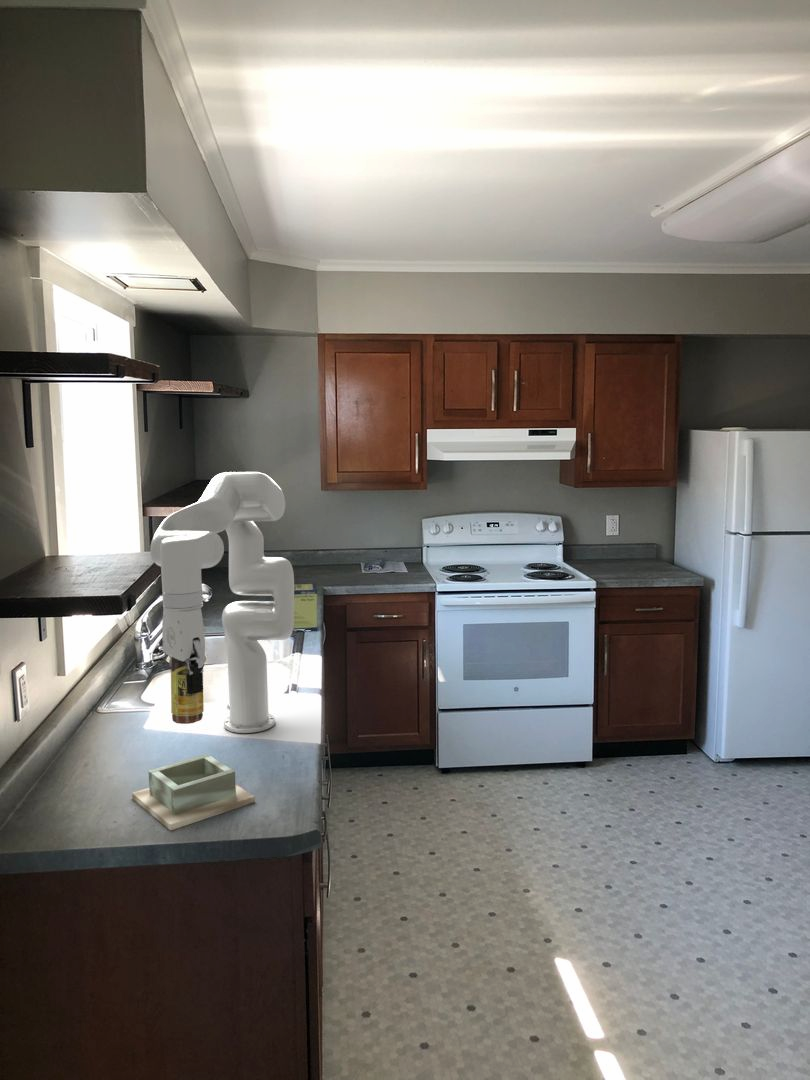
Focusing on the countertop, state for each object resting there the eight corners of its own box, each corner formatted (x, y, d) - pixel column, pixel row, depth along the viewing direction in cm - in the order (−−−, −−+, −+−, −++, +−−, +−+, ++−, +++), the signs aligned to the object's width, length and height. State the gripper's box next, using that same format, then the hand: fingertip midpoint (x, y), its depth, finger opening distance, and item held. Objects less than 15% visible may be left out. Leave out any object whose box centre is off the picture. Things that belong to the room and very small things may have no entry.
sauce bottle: (178, 728, 165) (173, 628, 162) (167, 719, 170) (161, 622, 167) (210, 720, 169) (205, 623, 166) (198, 712, 174) (193, 617, 171)
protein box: (318, 631, 306) (317, 588, 304) (274, 633, 304) (273, 590, 302) (317, 624, 317) (316, 583, 314) (275, 626, 314) (273, 584, 312)
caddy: (132, 798, 173) (130, 769, 172) (212, 774, 185) (211, 746, 184) (170, 830, 160) (168, 799, 159) (254, 802, 171) (253, 772, 170)
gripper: (146, 595, 170) (151, 682, 173) (184, 610, 157) (189, 703, 160) (181, 590, 175) (185, 675, 178) (221, 604, 162) (225, 695, 164)
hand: (187, 687), depth 169 cm, fingers closed on sauce bottle, 6 cm apart
